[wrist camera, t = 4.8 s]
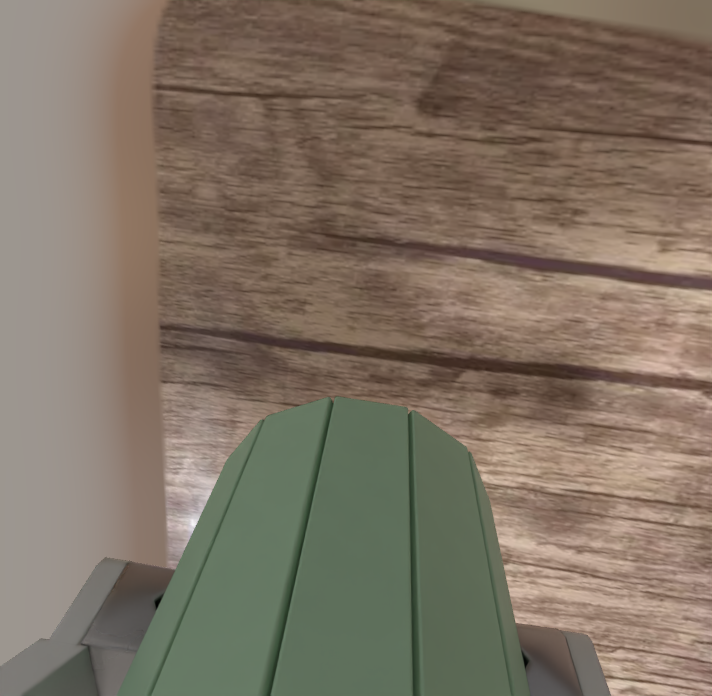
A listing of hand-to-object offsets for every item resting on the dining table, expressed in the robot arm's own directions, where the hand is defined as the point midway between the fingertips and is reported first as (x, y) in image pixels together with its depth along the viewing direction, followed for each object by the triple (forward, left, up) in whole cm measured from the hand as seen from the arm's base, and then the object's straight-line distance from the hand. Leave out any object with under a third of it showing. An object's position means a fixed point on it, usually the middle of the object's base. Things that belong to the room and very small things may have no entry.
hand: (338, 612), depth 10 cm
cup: (0, 0, -3) cm, 3 cm away
